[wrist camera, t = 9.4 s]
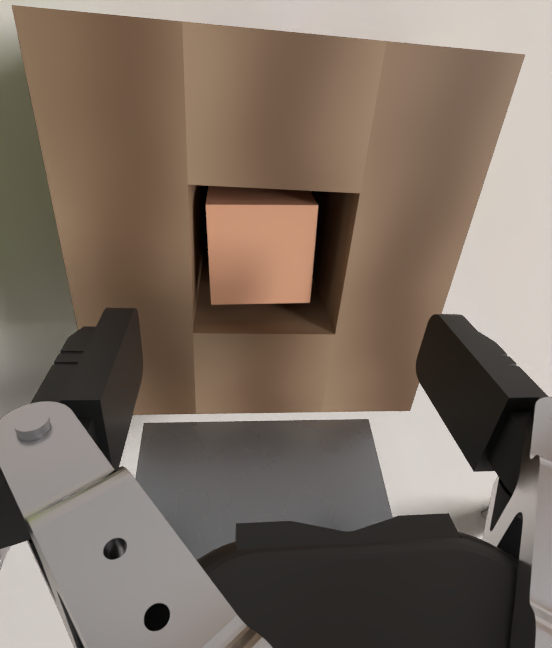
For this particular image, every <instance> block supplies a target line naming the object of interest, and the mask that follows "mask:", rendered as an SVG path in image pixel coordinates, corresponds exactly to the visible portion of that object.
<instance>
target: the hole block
mask: <svg viewBox="0 0 552 648" xmlns="http://www.w3.org/2000/svg"><path fill="white" fill-rule="evenodd" d="M12 9H13V14H14V19H15V24H16V29H17V34H18V39H19V43H20V48H21V53H22V58H23V63H24V68H25V73H26V78H27V83H28V88H29V92H30V97H31V102H32V107H33V112H34V117H35V122H36V127H37V132H38V136H39V141H40V146H41V151H42V156H43V161H44V166H45V171H46V176H47V181H48V185H49V190H50V195H51V200H52V205H53V210H54V215H55V220H56V225H57V230H58V234H59V239H60V244H61V249H62V254H63V259H64V264H65V269H66V274H67V278H68V283H69V288H70V293H71V298H72V303H73V308H74V313H75V318H76V323H77V327H78V330H79V329H81V328H82V327H83V326H93V327H96V326H97V324H98V322H99V319H100V317H101V315H102V313H103V311H104V310H105V308H136V309H137V311H138V315H139V324H140V334H141V343H142V353H143V375H142V381H141V385H140V389H139V393H138V396H137V400H136V404H135V408H134V412H133V415H151V414H220V413H289V412H357V411H410V409H411V406H412V403H413V400H414V397H415V394H416V391H417V388H418V384H419V380H418V378H417V375H416V359H417V356H418V353H419V349H420V346H421V343H422V340H423V336H424V333H425V330H426V327H427V323H428V321H429V319H430V317H431V316H432V315H434V314H441V313H442V310H443V307H444V304H445V301H446V298H447V295H448V292H449V289H450V286H451V282H452V279H453V276H454V273H455V270H456V267H457V264H458V261H459V258H460V255H461V252H462V248H463V245H464V242H465V239H466V236H467V233H468V230H469V227H470V224H471V221H472V218H473V214H474V211H475V208H476V205H477V202H478V199H479V196H480V193H481V190H482V187H483V184H484V180H485V177H486V174H487V171H488V168H489V165H490V162H491V159H492V156H493V153H494V150H495V146H496V143H497V140H498V137H499V134H500V131H501V128H502V125H503V122H504V119H505V116H506V112H507V109H508V106H509V103H510V100H511V97H512V94H513V91H514V88H515V85H516V82H517V78H518V75H519V72H520V69H521V66H522V63H523V60H524V57H525V55H524V54H514V53H503V52H493V51H482V50H472V49H462V48H451V47H441V46H430V45H420V44H410V43H399V42H389V41H378V40H368V39H358V38H347V37H337V36H326V35H316V34H306V33H295V32H285V31H275V30H264V29H254V28H243V27H233V26H223V25H212V24H202V23H191V22H181V21H171V20H160V19H150V18H139V17H129V16H119V15H108V14H98V13H87V12H77V11H67V10H56V9H46V8H35V7H25V6H15V5H12ZM202 185H205V186H225V187H245V188H265V189H285V190H304V191H312V196H313V197H314V199H315V200H316V202H317V204H318V216H317V228H316V240H315V251H314V263H313V274H312V286H311V297H310V303H275V304H221V305H211V293H210V275H209V257H208V253H203V220H202Z"/></svg>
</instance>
